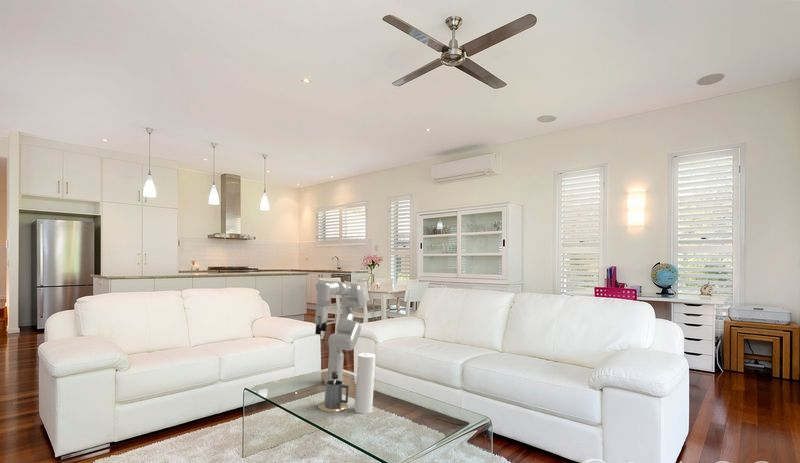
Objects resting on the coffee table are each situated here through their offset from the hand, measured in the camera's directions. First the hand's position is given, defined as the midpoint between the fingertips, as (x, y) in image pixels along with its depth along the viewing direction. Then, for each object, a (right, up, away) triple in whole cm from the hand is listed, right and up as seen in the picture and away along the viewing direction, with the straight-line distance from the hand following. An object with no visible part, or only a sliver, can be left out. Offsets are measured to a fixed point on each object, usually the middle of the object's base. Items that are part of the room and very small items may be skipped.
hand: (320, 332), depth 247 cm
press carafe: (+10, -36, -17) cm, 41 cm away
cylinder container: (+27, -37, -20) cm, 50 cm away
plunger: (+10, -33, -17) cm, 38 cm away
